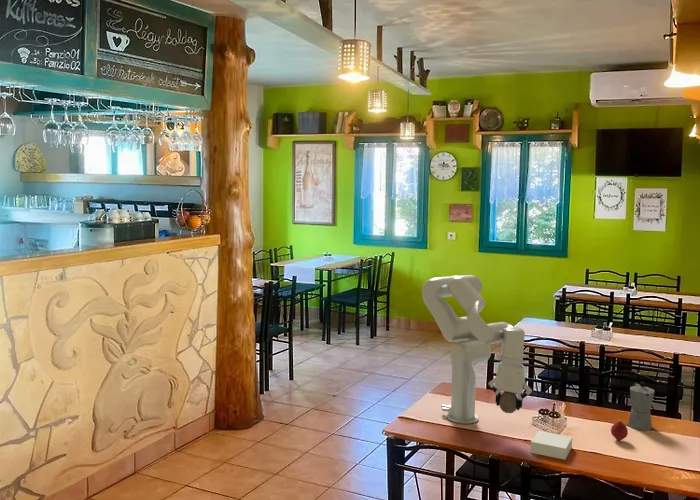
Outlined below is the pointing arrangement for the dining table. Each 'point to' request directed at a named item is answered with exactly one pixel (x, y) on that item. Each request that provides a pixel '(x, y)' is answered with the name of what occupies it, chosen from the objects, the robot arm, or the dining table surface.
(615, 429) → the onion
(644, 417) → the coffeepot
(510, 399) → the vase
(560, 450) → the grey block
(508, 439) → the dining table surface
